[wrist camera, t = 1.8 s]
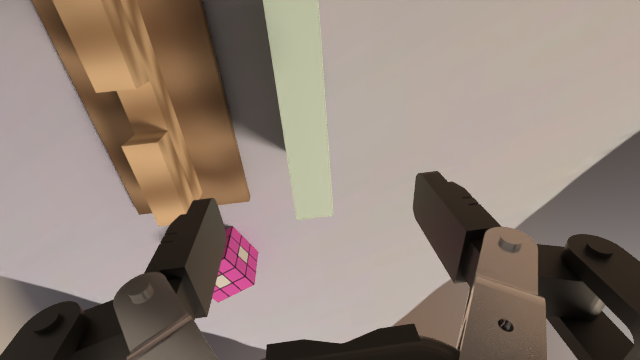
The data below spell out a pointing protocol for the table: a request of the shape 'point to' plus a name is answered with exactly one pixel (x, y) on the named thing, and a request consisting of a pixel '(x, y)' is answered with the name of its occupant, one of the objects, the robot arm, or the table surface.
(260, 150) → the table surface
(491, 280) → the robot arm
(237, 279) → the puzzle toy
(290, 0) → the sage slotted plate
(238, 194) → the oak slotted rail
